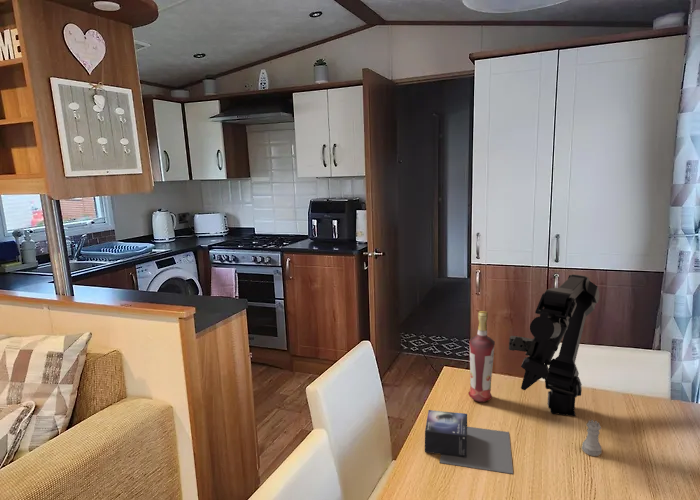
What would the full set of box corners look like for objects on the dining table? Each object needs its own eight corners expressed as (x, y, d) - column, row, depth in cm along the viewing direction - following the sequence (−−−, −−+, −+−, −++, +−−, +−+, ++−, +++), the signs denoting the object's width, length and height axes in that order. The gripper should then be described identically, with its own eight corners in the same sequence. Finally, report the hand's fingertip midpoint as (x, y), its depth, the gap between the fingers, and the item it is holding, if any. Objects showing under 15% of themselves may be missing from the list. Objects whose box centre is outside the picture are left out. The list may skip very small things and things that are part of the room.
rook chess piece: (599, 447, 116) (602, 419, 114) (603, 458, 112) (605, 429, 110) (580, 444, 118) (582, 416, 116) (582, 455, 113) (585, 426, 112)
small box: (467, 434, 112) (424, 430, 114) (467, 458, 113) (424, 453, 115) (467, 411, 122) (427, 408, 124) (467, 434, 123) (427, 430, 125)
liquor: (490, 407, 136) (493, 317, 131) (465, 402, 139) (468, 314, 134) (494, 395, 143) (497, 310, 137) (470, 390, 146) (472, 307, 140)
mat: (508, 432, 123) (508, 432, 123) (513, 474, 107) (513, 473, 107) (444, 424, 128) (444, 423, 128) (439, 463, 112) (439, 462, 112)
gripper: (521, 318, 131) (498, 366, 133) (515, 328, 114) (489, 382, 116) (560, 337, 126) (535, 386, 129) (560, 350, 109) (532, 405, 112)
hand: (522, 389), depth 122 cm, fingers closed
